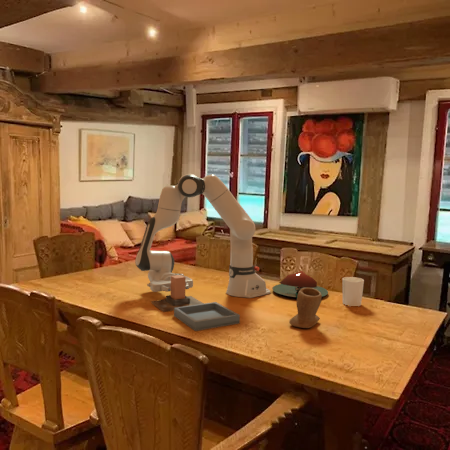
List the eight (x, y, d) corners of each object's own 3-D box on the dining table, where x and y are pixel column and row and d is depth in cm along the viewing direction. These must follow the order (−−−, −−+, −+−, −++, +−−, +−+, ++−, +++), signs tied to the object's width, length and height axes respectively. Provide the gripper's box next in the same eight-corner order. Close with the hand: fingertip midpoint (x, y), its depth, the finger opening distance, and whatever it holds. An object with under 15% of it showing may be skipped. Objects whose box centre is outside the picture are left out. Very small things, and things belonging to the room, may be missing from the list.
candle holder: (364, 303, 222) (365, 278, 221) (360, 308, 213) (362, 282, 212) (343, 300, 226) (344, 275, 225) (339, 305, 217) (340, 280, 216)
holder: (190, 298, 223) (191, 290, 223) (204, 305, 211) (204, 298, 211) (151, 303, 213) (151, 295, 213) (163, 311, 201) (163, 303, 201)
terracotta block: (180, 300, 215) (180, 274, 214) (185, 303, 211) (185, 277, 210) (170, 301, 213) (170, 275, 211) (174, 304, 209) (175, 278, 207)
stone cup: (313, 333, 180) (315, 295, 178) (285, 326, 186) (287, 290, 184) (327, 322, 193) (329, 286, 191) (300, 316, 199) (301, 282, 197)
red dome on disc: (265, 296, 229) (266, 274, 228) (280, 283, 255) (281, 263, 254) (322, 304, 219) (323, 280, 218) (332, 290, 245) (333, 269, 243)
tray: (215, 309, 206) (215, 301, 206) (239, 323, 189) (239, 314, 188) (174, 315, 196) (174, 307, 196) (195, 330, 179) (195, 322, 178)
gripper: (145, 277, 217) (156, 284, 205) (185, 273, 227) (198, 279, 215) (145, 290, 218) (156, 298, 206) (185, 285, 228) (198, 292, 216)
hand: (178, 288), depth 211 cm, fingers open, 8 cm apart
